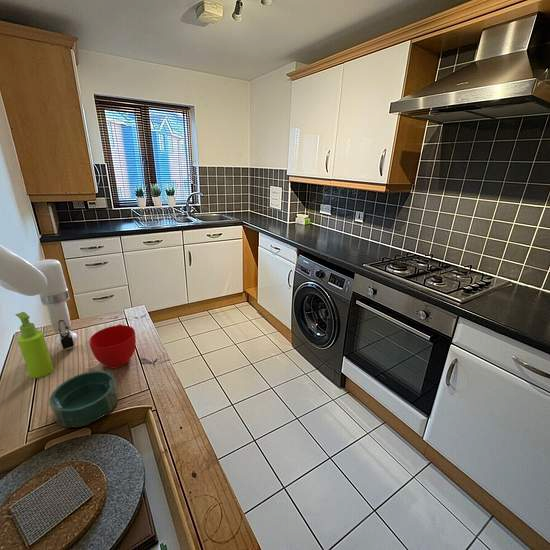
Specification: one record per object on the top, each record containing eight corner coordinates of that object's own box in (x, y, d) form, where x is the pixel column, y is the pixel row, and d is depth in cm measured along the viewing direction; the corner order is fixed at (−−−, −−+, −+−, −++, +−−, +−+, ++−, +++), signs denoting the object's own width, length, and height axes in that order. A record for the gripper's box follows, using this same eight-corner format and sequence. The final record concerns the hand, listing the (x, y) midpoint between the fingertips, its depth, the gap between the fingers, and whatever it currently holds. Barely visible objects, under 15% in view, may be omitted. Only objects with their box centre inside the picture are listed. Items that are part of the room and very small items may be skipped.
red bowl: (143, 341, 108) (139, 317, 104) (136, 370, 92) (131, 344, 89) (104, 346, 104) (98, 322, 100) (90, 377, 89) (83, 350, 85)
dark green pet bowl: (57, 440, 69) (50, 421, 67) (54, 402, 80) (48, 384, 78) (123, 411, 77) (120, 393, 75) (113, 380, 88) (109, 364, 86)
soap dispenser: (48, 361, 95) (30, 307, 88) (56, 370, 92) (39, 314, 85) (25, 371, 91) (5, 315, 84) (34, 380, 87) (13, 322, 80)
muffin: (81, 340, 107) (77, 324, 104) (76, 350, 101) (71, 333, 99) (62, 343, 105) (57, 326, 103) (55, 353, 100) (50, 336, 97)
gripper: (40, 290, 100) (53, 334, 107) (41, 309, 88) (56, 358, 94) (66, 285, 105) (77, 328, 111) (70, 303, 92) (83, 350, 98)
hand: (67, 342), depth 103 cm, fingers closed on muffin, 6 cm apart
